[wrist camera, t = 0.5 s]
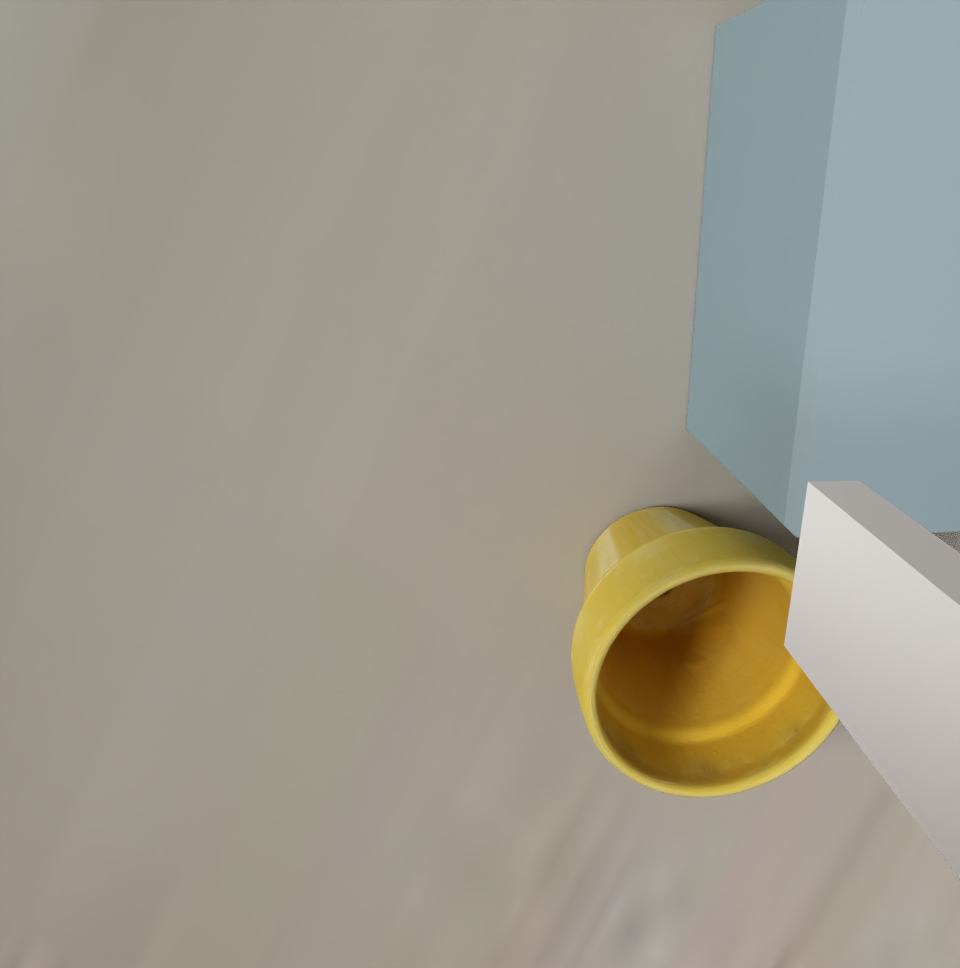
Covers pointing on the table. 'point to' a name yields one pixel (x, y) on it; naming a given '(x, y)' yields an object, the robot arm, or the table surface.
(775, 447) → the box
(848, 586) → the robot arm
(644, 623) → the plant pot
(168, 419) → the table surface
